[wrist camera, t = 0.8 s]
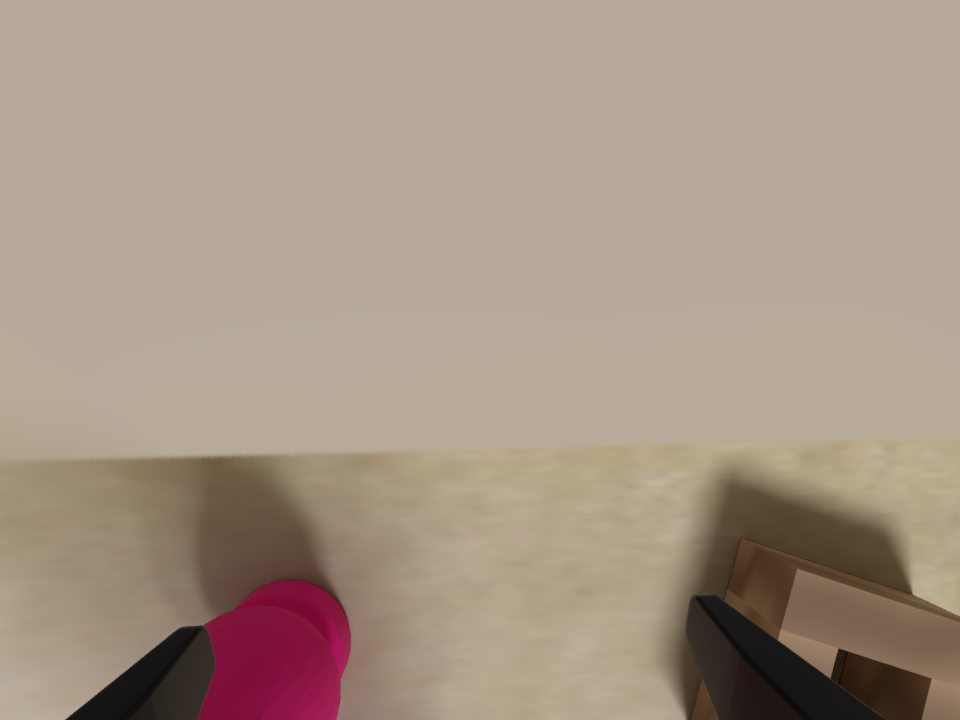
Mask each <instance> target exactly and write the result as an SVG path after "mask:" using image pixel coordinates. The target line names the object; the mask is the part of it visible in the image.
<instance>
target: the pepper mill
mask: <svg viewBox="0 0 960 720" xmlns="http://www.w3.org/2000/svg"><path fill="white" fill-rule="evenodd" d="M204 626H205V627H206V628H207V629H208V632H209V636H210V639H211V643H212V647H213V651H214V654H215V659H216V664H215V671H214V674H213V677H212V680H211V683H210V686H209V689H208V692H207V694H206V697H205V700H204V703H203V706H202V709H201V712H200V714H199V717H198V720H336V718H337V714H338V709H339V703H340V679H341V677H342V674H343V672H344V670H345V667H346V664H347V661H348V658H349V654H350V629H349V625H348V621H347V618H346V616H345V614H344V612H343V610H342V608H341V607H340V605H339V604H338V602H337V601H336V600H335V599H334V598H333V597H332V596H331V595H330V594H329V593H328V592H326V591H325V590H323V589H322V588H320V587H318V586H316V585H313V584H311V583H309V582H304V581H298V580H283V581H278V582H273V583H270V584H267V585H265V586H263V587H261V588H259V589H257V590H256V591H254V592H253V593H251V594H250V595H249V596H248V597H247V598H245V599H244V600H243V601H242V602H241V603H240V604H239V605H238V606H237V607H236V608H235V609H234V610H233V611H230V612H227V613H224V614H222V615H220V616H219V617H217V618H215V619H213V620H212V621H210V622H208V623H206V624H205V625H204Z"/></svg>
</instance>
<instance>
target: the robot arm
mask: <svg viewBox="0 0 960 720" xmlns="http://www.w3.org/2000/svg"><path fill="white" fill-rule="evenodd" d="M686 635H687V639H688V642H689V645H690V648H691V650H692V653H693V655H694V658H695V661H696V663H697V666H698V668H699V671H700V674H701V676H702V679H703V681H704V684H705V687H706V689H707V692H708V694H709V697H710V700H711V702H712V705H713V707H714V710H715V713H716V715H717V718H718V720H886V719H885V718H884V717H882V716H881V715H880V714H878V713H877V712H876V711H874V710H873V709H871V708H870V707H869V706H867V705H866V704H865V703H863V702H862V701H860V700H859V699H858V698H856V697H855V696H854V695H852V694H851V693H850V692H848V691H847V690H845V689H844V688H843V687H841V686H840V685H839V684H837V683H836V682H834V681H833V680H832V679H830V678H829V677H828V676H826V675H825V674H824V673H822V672H821V671H819V670H818V669H817V668H815V667H814V666H813V665H811V664H810V663H808V662H807V661H806V660H804V659H803V658H802V657H800V656H799V655H798V654H796V653H795V652H793V651H792V650H791V649H789V648H788V647H787V646H785V645H784V644H782V643H781V642H780V641H778V640H777V639H776V638H774V637H773V636H772V635H770V634H769V633H767V632H766V631H765V630H763V629H762V628H761V627H759V626H758V625H756V624H755V623H754V622H752V621H751V620H750V619H748V618H747V617H746V616H744V615H743V614H741V613H740V612H739V611H737V610H736V609H735V608H733V607H732V606H730V605H729V604H728V603H726V602H725V601H724V600H722V599H721V598H720V597H718V596H716V595H714V594H696V595H693V596H692V597H691V599H690V603H689V609H688V616H687V622H686ZM215 664H216V659H215V654H214V651H213V647H212V643H211V639H210V636H209V632H208V629H207V628H206V627H205V626H202V625H201V626H186V627H181V628H179V629H178V630H176V631H175V632H174V633H172V634H171V635H170V636H169V637H167V638H166V639H165V640H164V641H162V642H161V643H160V644H159V645H157V646H156V647H155V648H154V649H152V650H151V651H150V652H149V653H147V654H146V655H145V656H144V657H143V658H141V659H140V660H139V661H138V662H136V663H135V664H134V665H133V666H131V667H130V668H129V669H128V670H126V671H125V672H124V673H123V674H121V675H120V676H119V677H118V678H116V679H115V680H114V681H113V682H111V683H110V684H109V685H108V686H106V687H105V688H104V689H103V690H102V691H100V692H99V693H98V694H97V695H95V696H94V697H93V698H92V699H90V700H89V701H88V702H87V703H85V704H84V705H83V706H82V707H80V708H79V709H78V710H77V711H75V712H74V713H73V714H72V715H70V716H69V717H68V718H67V719H66V720H198V717H199V714H200V712H201V709H202V706H203V703H204V700H205V697H206V694H207V692H208V689H209V686H210V683H211V680H212V677H213V674H214V671H215Z"/></svg>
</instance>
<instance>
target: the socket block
mask: <svg viewBox="0 0 960 720" xmlns="http://www.w3.org/2000/svg"><path fill="white" fill-rule="evenodd" d="M724 601H725V602H726V603H728V604H729V605H730V606H732V607H733V608H735V609H736V610H737V611H739V612H740V613H741V614H743V615H744V616H746V617H747V618H748V619H750V620H751V621H752V622H754V623H755V624H756V625H758V626H759V627H761V628H762V629H763V630H765V631H766V632H767V633H769V634H770V635H772V636H773V637H774V638H776V639H777V640H778V641H780V642H781V643H782V644H784V645H785V646H787V647H788V648H789V649H791V650H792V651H793V652H795V653H796V654H798V655H799V656H800V657H802V658H803V659H804V660H806V661H807V662H808V663H810V664H811V665H813V666H814V667H815V668H817V669H818V670H819V671H821V672H822V673H824V674H825V675H826V676H828V677H829V678H831V675H832V671H833V667H834V663H835V659H836V656H837V652H838V648H839V649H842V650H845V651H848V654H847V658H846V661H845V665H844V669H843V673H842V677H841V681H840V684H839V685H840V686H841V687H843V688H844V689H845V690H847V691H848V692H850V693H851V694H852V695H854V696H855V697H856V698H858V699H859V700H860V701H862V702H863V703H865V704H866V705H867V706H869V707H870V708H871V709H873V710H874V711H876V712H877V713H878V714H880V715H881V716H882V717H884V718H885V719H886V720H960V616H958V615H956V614H953V613H951V612H949V611H947V610H945V609H943V608H940V607H938V606H936V605H934V604H932V603H930V602H927V601H925V600H923V599H921V598H919V597H917V596H914V595H912V594H909V593H906V592H902V591H899V590H896V589H893V588H890V587H887V586H884V585H881V584H878V583H875V582H872V581H869V580H866V579H863V578H860V577H857V576H854V575H851V574H848V573H845V572H842V571H839V570H836V569H833V568H830V567H827V566H823V565H820V564H817V563H814V562H811V561H808V560H805V559H802V558H799V557H796V556H793V555H790V554H787V553H784V552H781V551H778V550H775V549H772V548H769V547H766V546H763V545H760V544H757V543H754V542H751V541H748V540H745V539H741V542H740V546H739V549H738V553H737V556H736V560H735V563H734V567H733V570H732V574H731V577H730V581H729V585H728V588H727V592H726V595H725V599H724ZM690 720H718V718H717V715H716V713H715V710H714V707H713V705H712V702H711V700H710V697H709V694H708V692H707V689H706V687H705V684H704V681H703V679H702V680H701V684H700V687H699V691H698V694H697V698H696V701H695V705H694V708H693V712H692V715H691V719H690Z"/></svg>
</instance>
